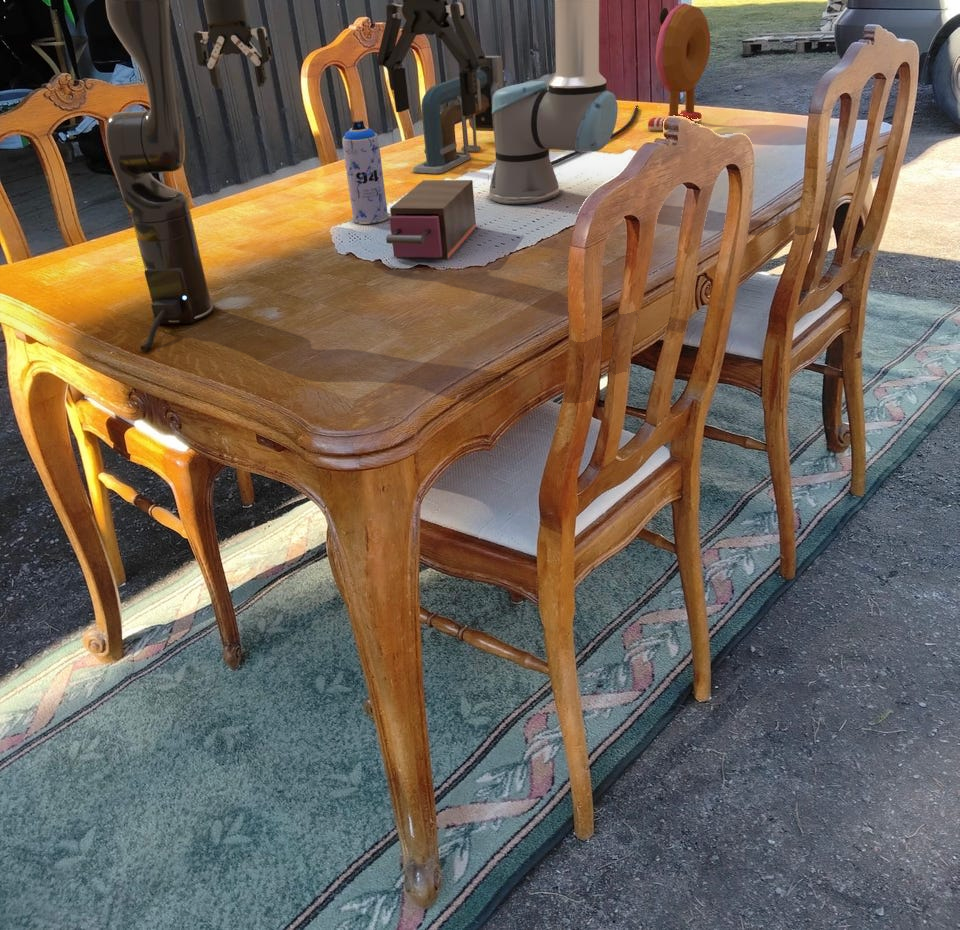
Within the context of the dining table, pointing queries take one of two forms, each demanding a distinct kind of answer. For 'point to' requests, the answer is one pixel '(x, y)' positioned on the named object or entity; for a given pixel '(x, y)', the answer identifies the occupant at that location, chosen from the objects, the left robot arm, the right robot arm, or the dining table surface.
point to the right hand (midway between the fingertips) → (435, 112)
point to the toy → (681, 57)
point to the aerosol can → (364, 175)
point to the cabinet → (442, 209)
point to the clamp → (457, 118)
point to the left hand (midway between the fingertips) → (240, 87)
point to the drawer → (415, 235)
